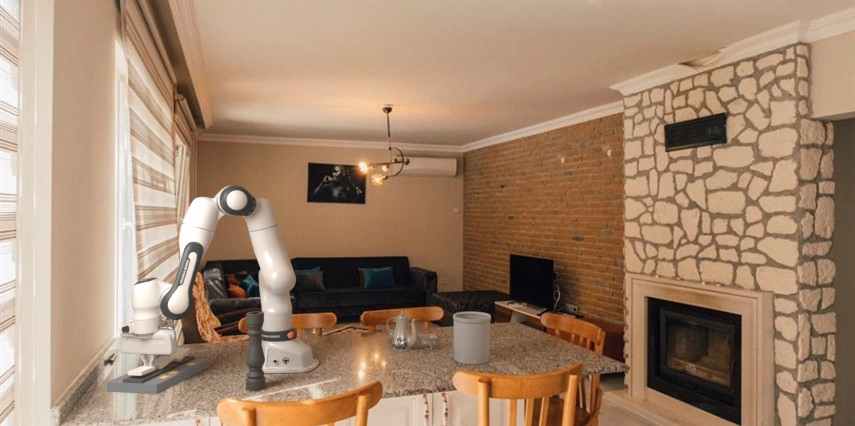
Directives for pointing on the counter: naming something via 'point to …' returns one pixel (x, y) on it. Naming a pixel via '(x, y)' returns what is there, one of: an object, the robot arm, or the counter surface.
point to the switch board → (159, 377)
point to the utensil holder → (471, 337)
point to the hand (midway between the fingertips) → (149, 366)
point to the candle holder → (255, 352)
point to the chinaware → (408, 335)
